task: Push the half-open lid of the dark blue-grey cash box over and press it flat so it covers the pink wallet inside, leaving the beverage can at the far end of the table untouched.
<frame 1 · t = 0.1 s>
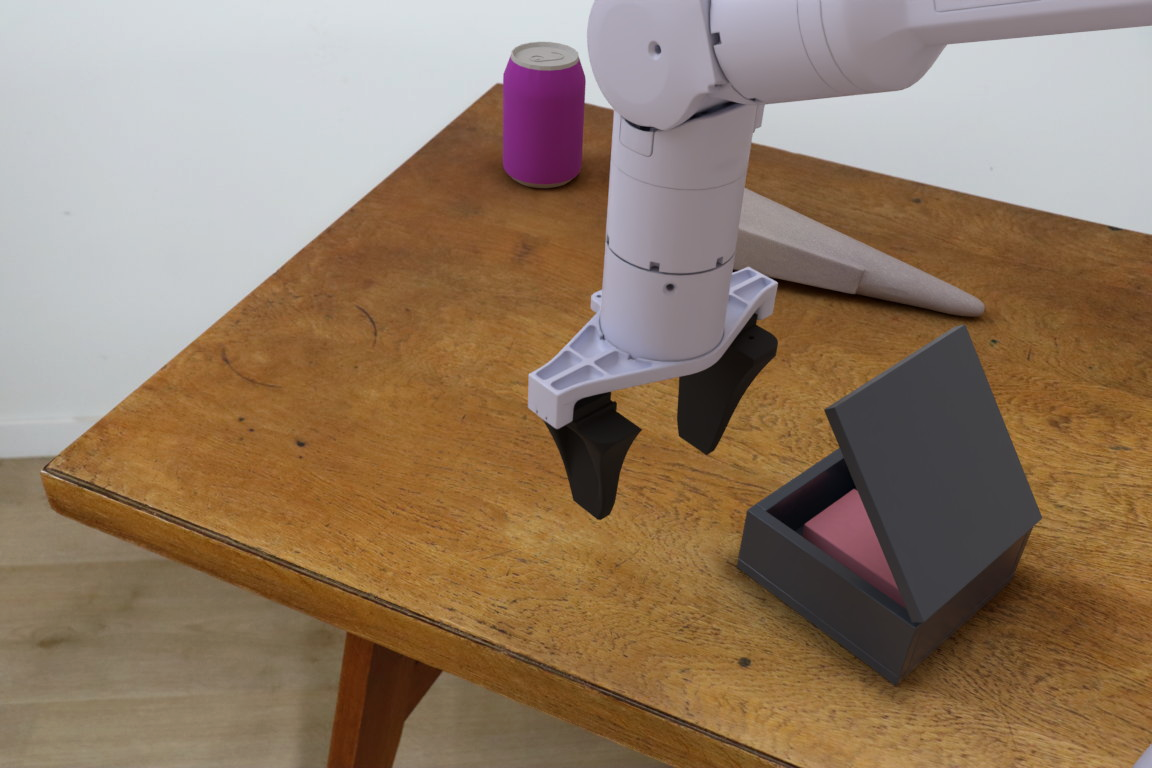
hand: (645, 474, 57), 11 cm above the table, tool pointing down, fingers open, 7 cm apart
beverage can: (541, 175, 108), on the table
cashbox: (873, 574, 67), on the table
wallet: (876, 565, 67), point 1 cm above the table, touching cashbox
lid: (939, 467, 60), point 10 cm above the table, hinge at 50.0°
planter: (822, 274, 96), on the table
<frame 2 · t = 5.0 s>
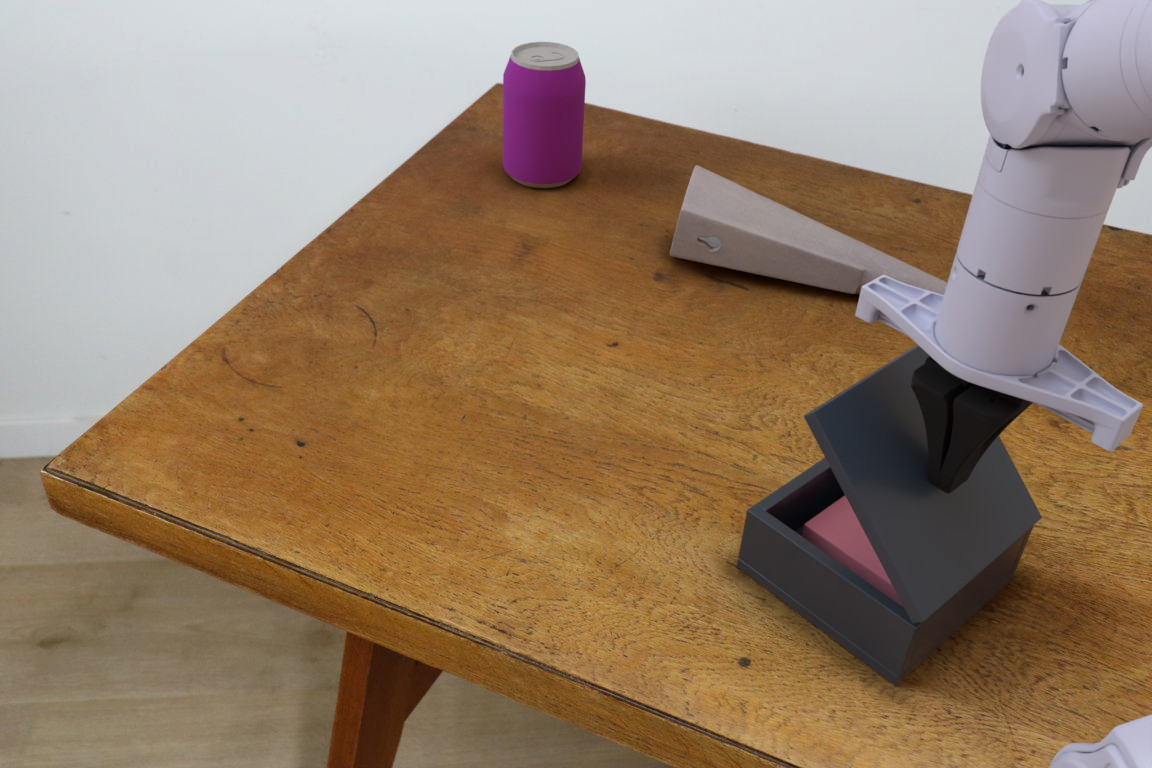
hand: (947, 480, 60), 9 cm above the table, tool pointing down, fingers closed
lid: (928, 469, 61), point 9 cm above the table, hinge at 42.7°, touching gripper
everything else where it was.
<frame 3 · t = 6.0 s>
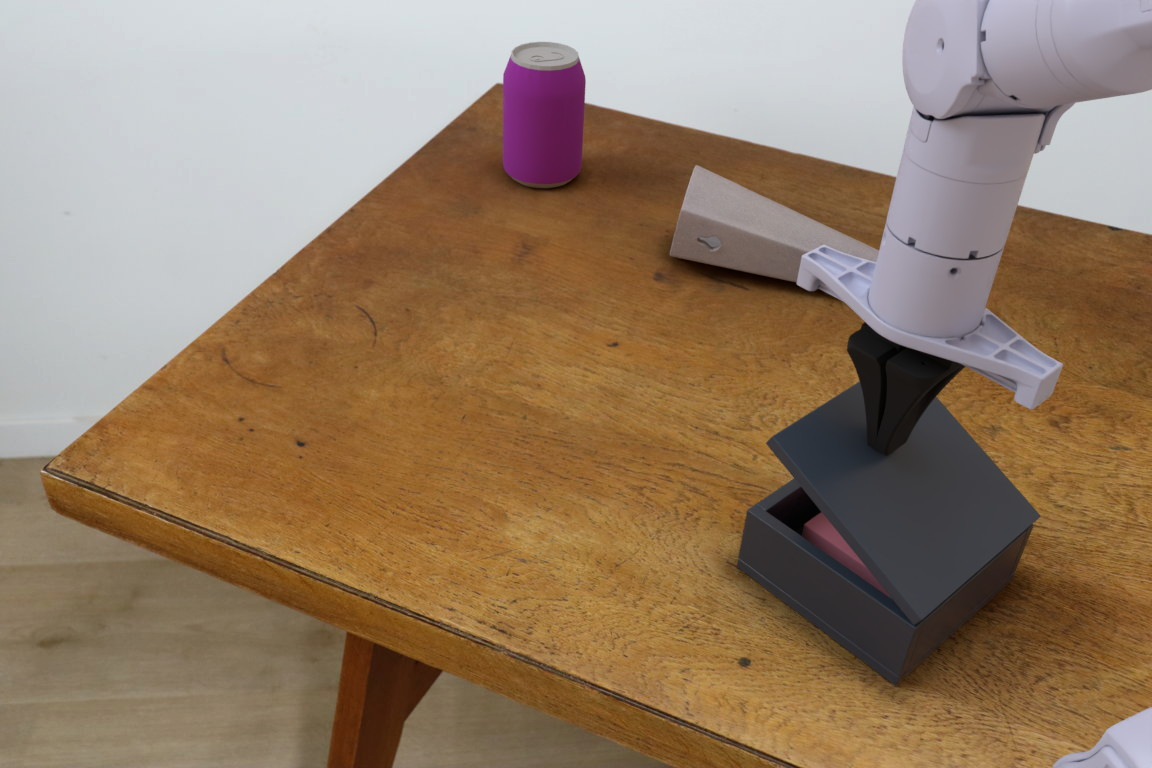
hand: (886, 443, 62), 9 cm above the table, tool pointing down, fingers closed
lid: (906, 480, 62), point 8 cm above the table, hinge at 25.2°, touching gripper
everything else where it was.
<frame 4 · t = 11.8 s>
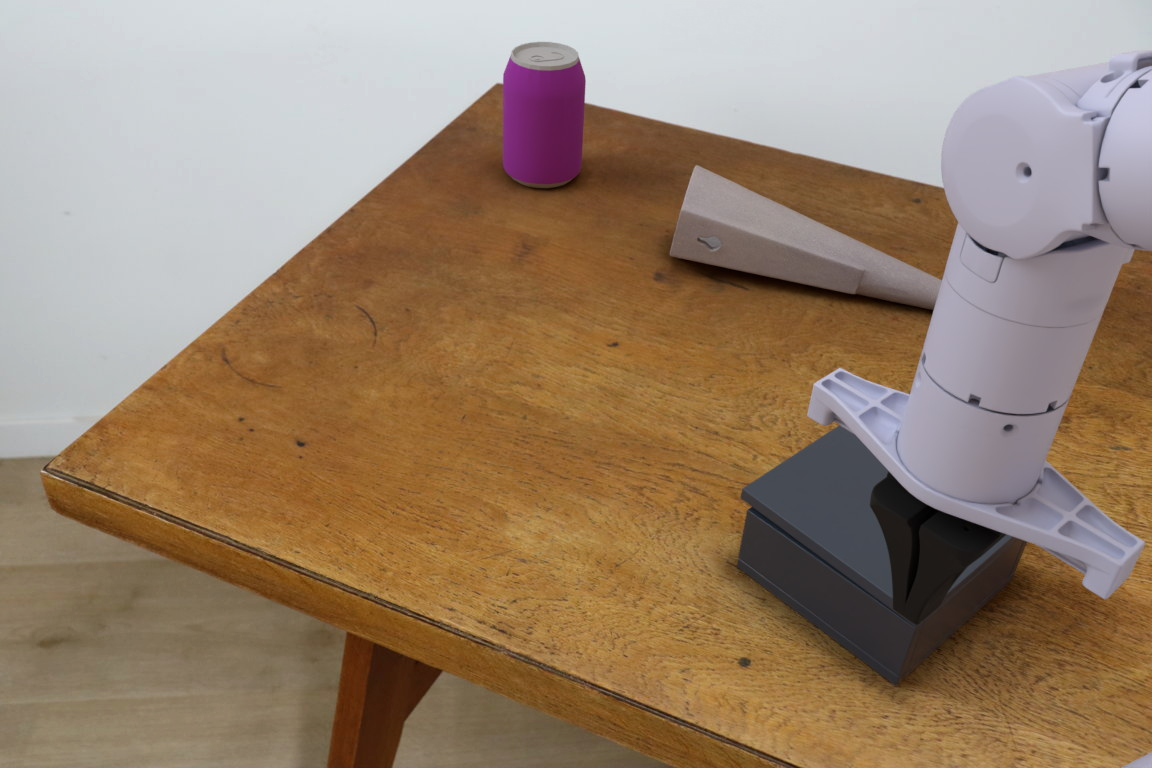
hand: (916, 606, 51), 10 cm above the table, tool pointing down, fingers closed
lid: (888, 506, 64), point 5 cm above the table, hinge at 1.9°
everything else where it was.
at the end: lid at +2° (first picture: +50°); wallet inside the target area in the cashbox (0.0 cm from its centre), point 0.8 cm above the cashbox's base; beverage can moved 0.2 cm from its start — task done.
